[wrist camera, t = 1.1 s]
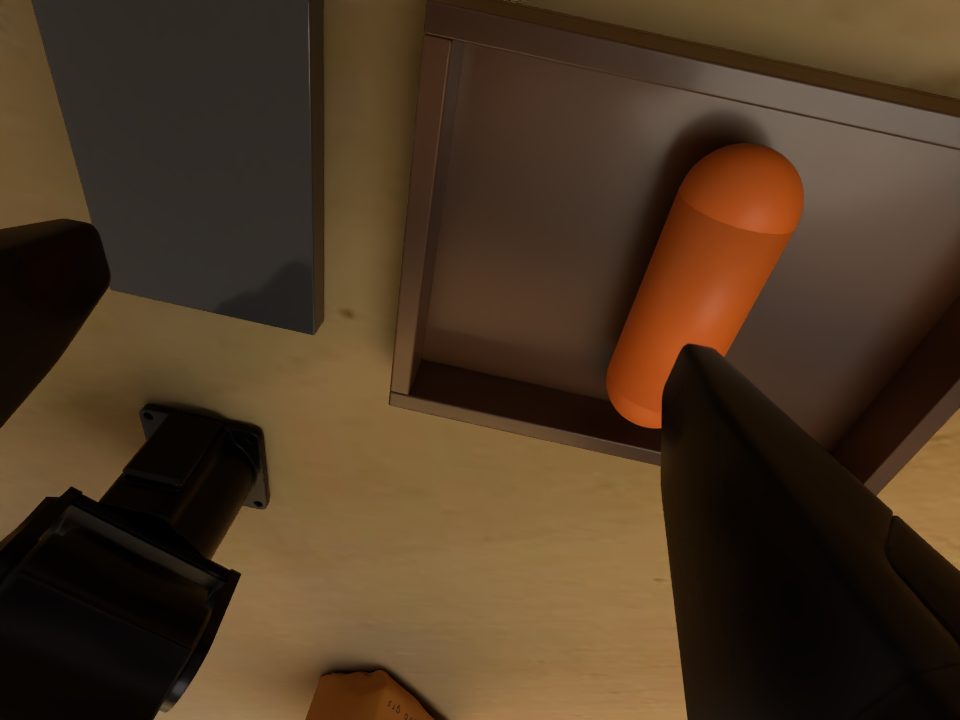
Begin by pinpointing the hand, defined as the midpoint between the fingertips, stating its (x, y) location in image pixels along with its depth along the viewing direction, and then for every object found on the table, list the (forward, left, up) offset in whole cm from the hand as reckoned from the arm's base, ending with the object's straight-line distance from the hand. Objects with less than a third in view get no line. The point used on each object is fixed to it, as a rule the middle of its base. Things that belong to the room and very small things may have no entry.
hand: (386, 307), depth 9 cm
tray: (-5, -8, -13) cm, 16 cm away
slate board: (-4, +10, -13) cm, 17 cm away
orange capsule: (-4, -8, -12) cm, 16 cm away
